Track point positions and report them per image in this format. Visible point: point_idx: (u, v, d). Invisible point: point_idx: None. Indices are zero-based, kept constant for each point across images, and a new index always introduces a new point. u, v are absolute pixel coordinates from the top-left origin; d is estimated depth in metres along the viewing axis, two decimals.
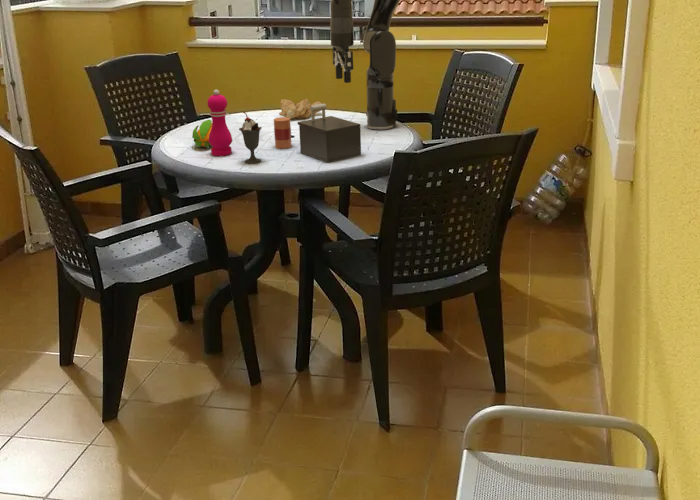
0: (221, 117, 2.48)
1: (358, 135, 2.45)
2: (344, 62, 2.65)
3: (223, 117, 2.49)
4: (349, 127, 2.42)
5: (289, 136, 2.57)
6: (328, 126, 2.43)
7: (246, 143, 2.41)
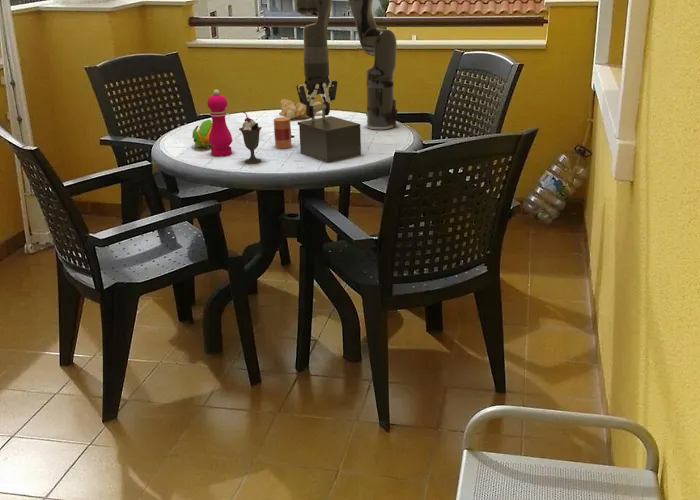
0: (221, 117, 2.48)
1: (358, 135, 2.45)
2: None
3: (223, 117, 2.49)
4: (349, 127, 2.42)
5: (289, 136, 2.57)
6: (328, 126, 2.43)
7: (246, 143, 2.41)
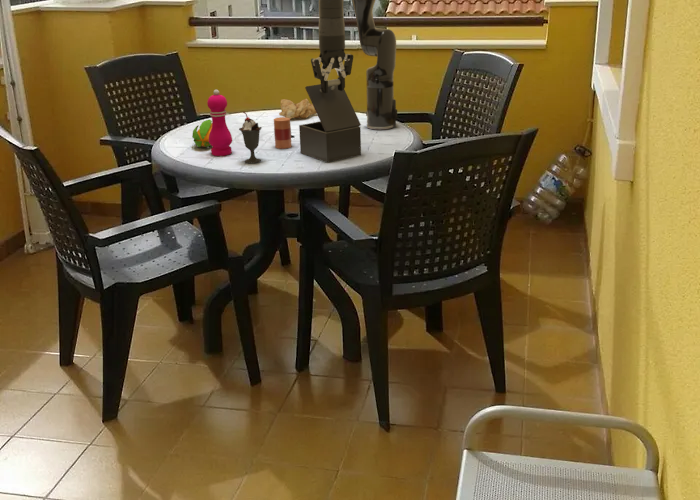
0: (221, 117, 2.48)
1: (358, 135, 2.45)
2: None
3: (223, 117, 2.49)
4: (349, 127, 2.42)
5: (289, 136, 2.57)
6: (331, 117, 2.40)
7: (246, 143, 2.41)
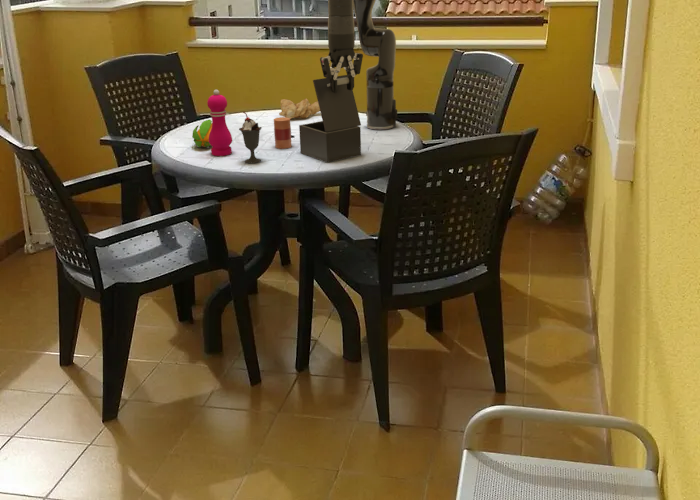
0: (221, 117, 2.48)
1: (358, 135, 2.45)
2: None
3: (223, 117, 2.49)
4: (349, 127, 2.42)
5: (289, 136, 2.57)
6: (333, 116, 2.39)
7: (246, 143, 2.41)
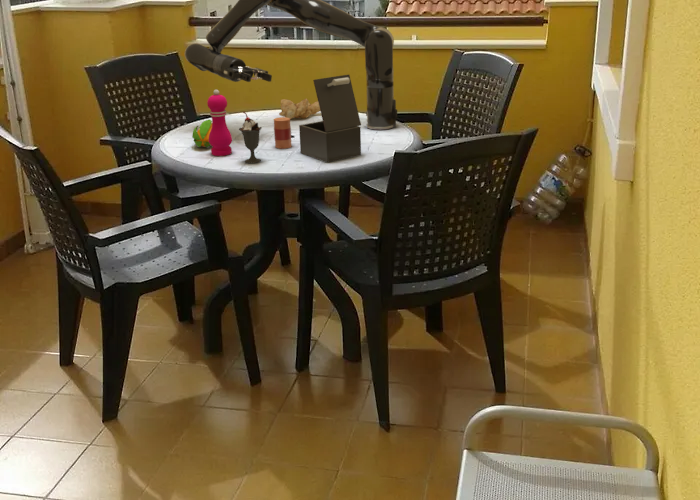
0: (221, 117, 2.48)
1: (358, 135, 2.45)
2: None
3: (223, 117, 2.49)
4: (349, 127, 2.42)
5: (289, 136, 2.57)
6: (333, 116, 2.39)
7: (246, 143, 2.41)
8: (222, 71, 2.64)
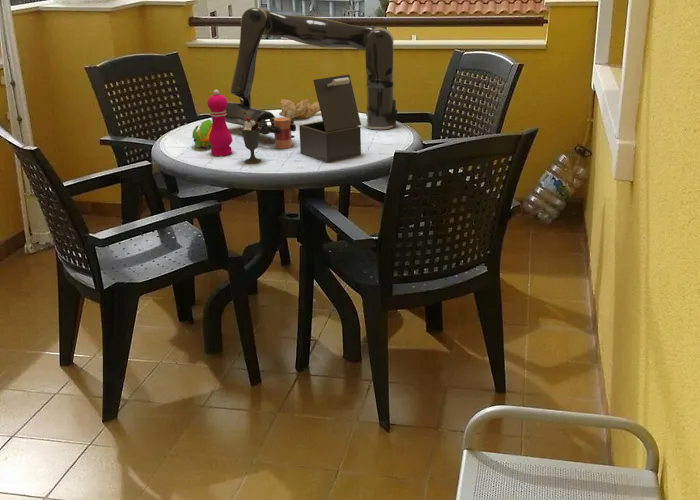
0: (221, 117, 2.48)
1: (358, 135, 2.45)
2: None
3: (223, 117, 2.49)
4: (349, 127, 2.42)
5: (289, 136, 2.57)
6: (333, 116, 2.39)
7: (246, 143, 2.41)
8: None
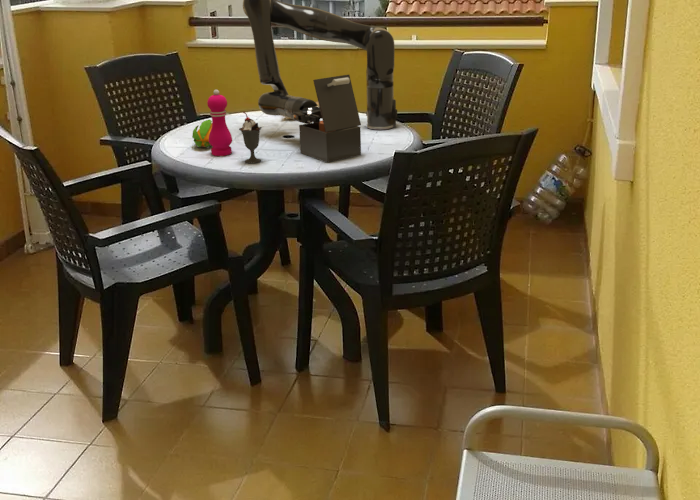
0: (221, 117, 2.48)
1: (358, 135, 2.45)
2: None
3: (223, 117, 2.49)
4: (349, 127, 2.42)
5: None
6: (333, 116, 2.39)
7: (246, 143, 2.41)
8: (294, 115, 2.55)
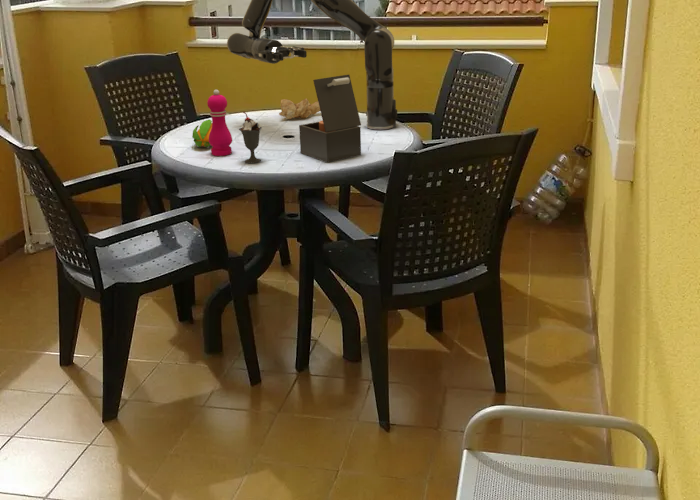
0: (221, 117, 2.48)
1: (358, 135, 2.45)
2: None
3: (223, 117, 2.49)
4: (349, 127, 2.42)
5: None
6: (333, 116, 2.39)
7: (246, 143, 2.41)
8: None
